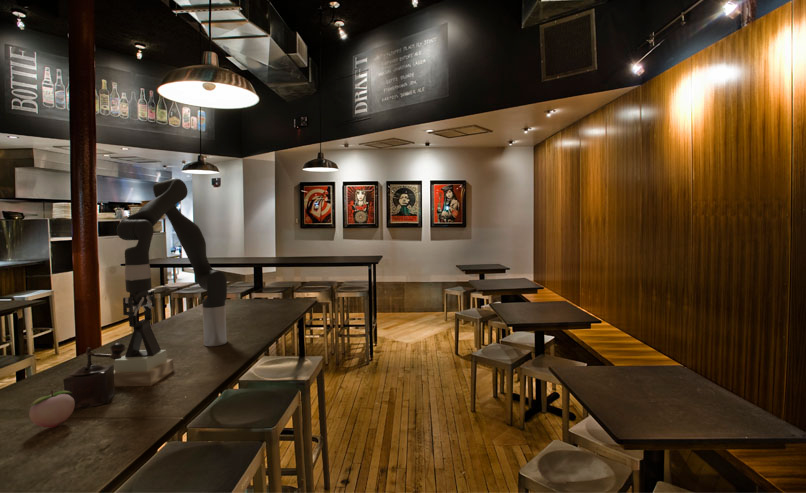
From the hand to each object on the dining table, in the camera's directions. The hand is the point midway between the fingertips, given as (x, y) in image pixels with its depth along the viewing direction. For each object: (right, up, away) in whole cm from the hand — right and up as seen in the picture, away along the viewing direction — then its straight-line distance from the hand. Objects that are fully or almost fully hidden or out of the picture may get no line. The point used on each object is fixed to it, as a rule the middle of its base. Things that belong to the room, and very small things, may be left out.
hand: (141, 323), depth 142 cm
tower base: (0, -20, +1) cm, 20 cm away
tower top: (0, -15, +1) cm, 15 cm away
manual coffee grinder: (-1, -21, -17) cm, 27 cm away
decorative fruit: (-1, -22, -34) cm, 40 cm away
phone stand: (0, -11, +1) cm, 11 cm away
